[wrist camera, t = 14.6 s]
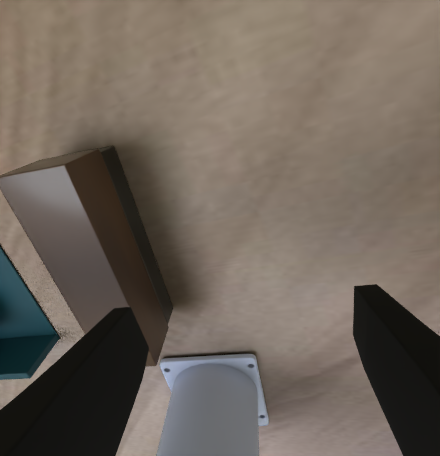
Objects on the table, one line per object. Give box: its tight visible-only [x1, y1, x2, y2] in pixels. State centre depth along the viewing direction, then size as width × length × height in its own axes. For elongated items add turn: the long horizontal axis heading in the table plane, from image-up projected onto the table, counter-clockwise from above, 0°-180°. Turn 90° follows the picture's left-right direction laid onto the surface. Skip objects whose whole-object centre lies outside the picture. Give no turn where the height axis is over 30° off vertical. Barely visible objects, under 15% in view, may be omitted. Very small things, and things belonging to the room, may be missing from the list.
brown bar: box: [0, 146, 173, 366], centre depth 16 cm, size 12×3×5 cm, turn 11°
